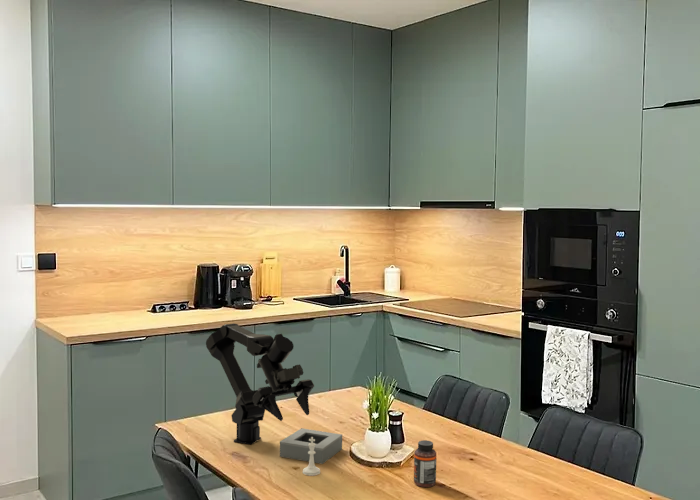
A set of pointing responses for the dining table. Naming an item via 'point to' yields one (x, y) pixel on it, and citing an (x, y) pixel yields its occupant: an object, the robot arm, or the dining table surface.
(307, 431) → the gray square open box
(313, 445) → the chess piece
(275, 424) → the dining table surface
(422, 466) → the supplement bottle
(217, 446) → the dining table surface
